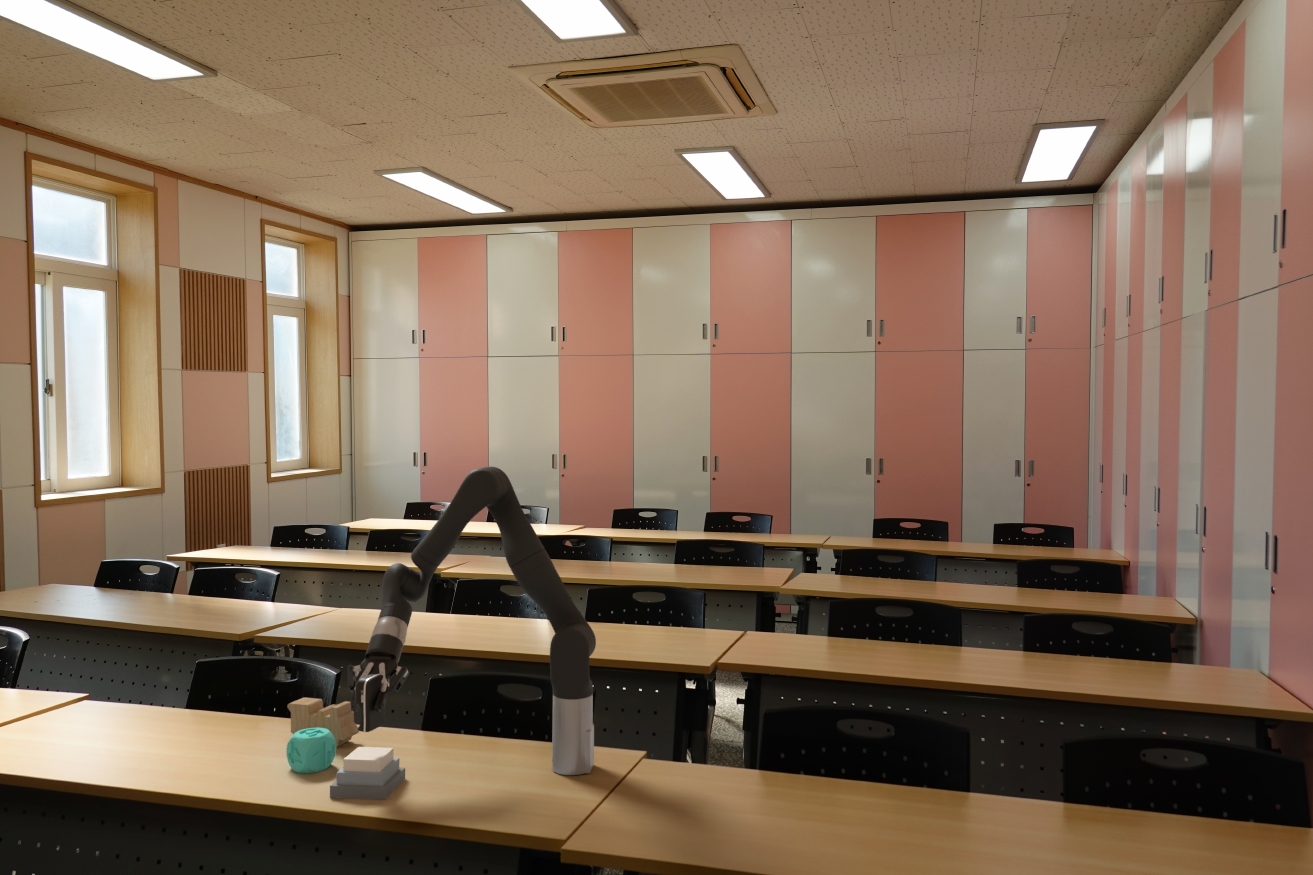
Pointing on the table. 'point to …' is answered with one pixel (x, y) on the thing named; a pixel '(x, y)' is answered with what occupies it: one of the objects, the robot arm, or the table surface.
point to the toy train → (323, 718)
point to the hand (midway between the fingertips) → (366, 709)
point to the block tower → (368, 774)
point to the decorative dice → (311, 750)
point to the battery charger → (369, 702)
